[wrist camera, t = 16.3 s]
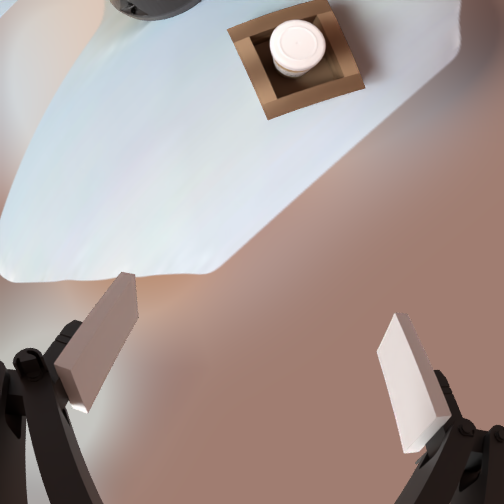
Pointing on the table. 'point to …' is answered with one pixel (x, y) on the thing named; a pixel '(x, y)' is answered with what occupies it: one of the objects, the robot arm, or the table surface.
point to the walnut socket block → (317, 78)
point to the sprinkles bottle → (296, 48)
